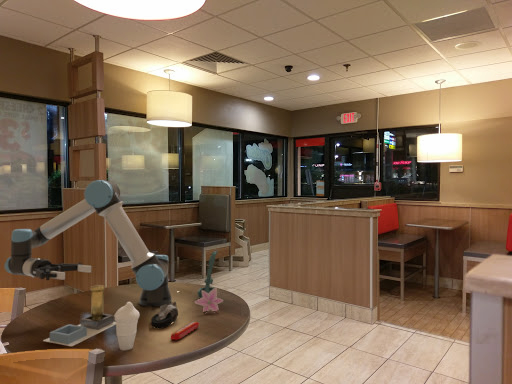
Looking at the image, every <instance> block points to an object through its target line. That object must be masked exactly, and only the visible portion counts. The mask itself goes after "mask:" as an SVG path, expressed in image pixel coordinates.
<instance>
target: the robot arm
mask: <svg viewBox="0 0 512 384" xmlns="http://www.w3.org/2000/svg"><path fill="white" fill-rule="evenodd" d="M83 194H84V199H82V200H81V201H79V202H78V203H76V204H74V205H73V206H71V207H69V208H68V209H66V210H65V211H63V212H61V213H59V214H58V215H56V216H54V217H53V218H52V219H51V218H50V220H48V221H47V222H44V223H43V224H42V225H40V226H39V227H37V228H35V229H33V230H32V229H31V228H18V229H17V228H16V229H14V230H12V231H11V238H10V243H11V244H10V245H11V246H10V256H9V257H8V258H7V259H6V261H5V262H4V270H5V271H6V272H7V273H9V274H12V275H17V276H26V277H27V276H28V277H31V278H39V279H40V280H45V279H46V281H50V280H51V279H54V280H55V279H56V280H63V281H64V280H66V272H76V271H77V272H81V273H92V265H85V264H83V263H82V262H78V263H63V262H61V263H60V262H59V263H52V262H51V261H50V260H49V259H45V258H36V257H32V254H33V251H32V250H33V249H35V248H38V247H41V246H43V245H45V244H46V243H48V241H50V240H51V239H53V238H55V237H56V236H58V235H59V234H61V233H63V232H65V231H66V230H68V229H70V227H73V226H74V225H76V224H77V223H79V222H81V221H82V220H84V219H86V218H87V217H89V216H90V215H92V214H93V213H95V212H96V214H97V215H98V216H100V217H103V218H104V219H105V221H106V223H107V224H108V226H109V228H110V229H111V231H112V232H113V234H114V236H115V237H116V239H117V241H118V242H119V243H120V246H121V247H122V249H123V250H124V252H125V254H126V255H127V257H128V258H129V260H130V262H131V266H130V269H131V270H132V272H133V274H134V275H135V281H136V284H137V285H138V287H139V288H141V289H142V290H141V292H140V296H139V298H138V299H139V300H138V303H139V305H140V306H143V307H154V308H155V307H160V306H163V305H166V304H169V303H170V302H171V303H172V294H171V290H170V287H169V262H170V260H169V256H168V255H166V254H156V253H154V252H150V251H149V249H148V248H147V246H146V244H145V242H144V241H143V239H142V237H141V236H140V235H139V233H138V231H137V230H136V227H135V226H134V224H133V223H132V221H131V220H130V218H129V217H128V215H127V213H126V211H125V209H124V208H123V203H124V201H123V199H122V198H121V189H120V187H119V186H118V184H117V183H115V182H114V181H111V180H105V179H97V180H94V181H92V182H90V183H89V184H88V185H87V186H86V187H85V189H84V193H83Z"/></svg>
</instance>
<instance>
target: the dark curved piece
mask: <svg viewBox="0 0 512 384" xmlns="http://www.w3.org/2000/svg"><path fill="white" fill-rule="evenodd" d="M217 254H218V250H215V251H212V253H211V254H210V257H209V260H208V263H207V265H208V268H207V269H206V274H207V275H206V278H205V279H204V280H203V281H204V283H205V285H204V287H200V288H199V289H198V290H197V297H198V298H199V297H200V298H202V297H203V296H202V290H203V291H205V292H207V293H208V294H209V292H210V291H212V290H213V289H214V288H215V287H212V286H210V285H213V283H214V278H212V271H213V267H214V263H215V260H216V257H217Z"/></svg>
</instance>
